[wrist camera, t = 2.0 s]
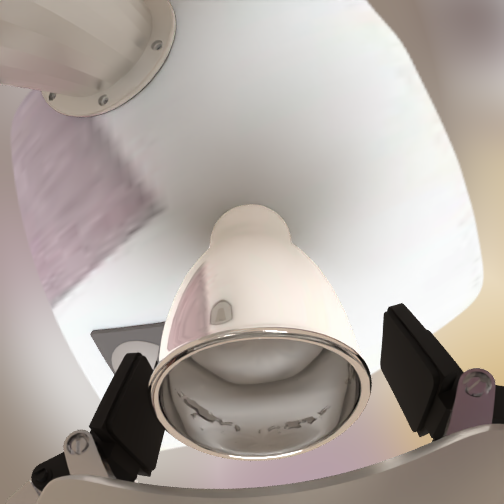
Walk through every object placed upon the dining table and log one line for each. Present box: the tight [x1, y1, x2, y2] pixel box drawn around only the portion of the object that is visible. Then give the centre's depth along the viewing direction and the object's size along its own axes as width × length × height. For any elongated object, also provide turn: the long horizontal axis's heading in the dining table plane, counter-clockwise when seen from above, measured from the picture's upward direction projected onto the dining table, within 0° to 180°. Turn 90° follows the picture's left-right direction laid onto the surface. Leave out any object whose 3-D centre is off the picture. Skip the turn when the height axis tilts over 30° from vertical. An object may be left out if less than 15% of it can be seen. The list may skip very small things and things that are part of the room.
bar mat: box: [90, 322, 165, 375], centre depth 25 cm, size 11×19×1 cm, turn 102°
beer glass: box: [148, 204, 372, 461], centre depth 14 cm, size 7×7×15 cm
